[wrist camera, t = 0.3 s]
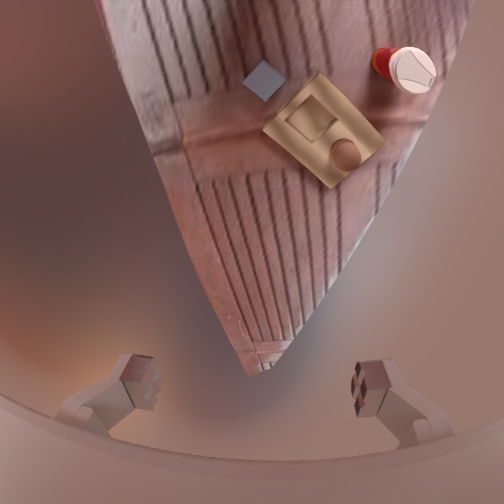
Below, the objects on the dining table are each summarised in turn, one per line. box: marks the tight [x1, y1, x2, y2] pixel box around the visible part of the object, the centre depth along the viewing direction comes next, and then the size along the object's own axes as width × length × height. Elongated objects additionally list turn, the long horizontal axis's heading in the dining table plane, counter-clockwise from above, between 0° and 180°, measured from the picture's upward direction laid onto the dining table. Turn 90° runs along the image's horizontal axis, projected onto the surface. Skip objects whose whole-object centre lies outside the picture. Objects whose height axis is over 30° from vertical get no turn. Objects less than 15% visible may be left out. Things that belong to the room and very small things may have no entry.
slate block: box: [242, 59, 286, 102], centre depth 44 cm, size 5×5×6 cm
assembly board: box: [262, 71, 386, 189], centre depth 49 cm, size 15×18×8 cm
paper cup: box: [371, 47, 436, 95], centre depth 36 cm, size 8×8×14 cm
